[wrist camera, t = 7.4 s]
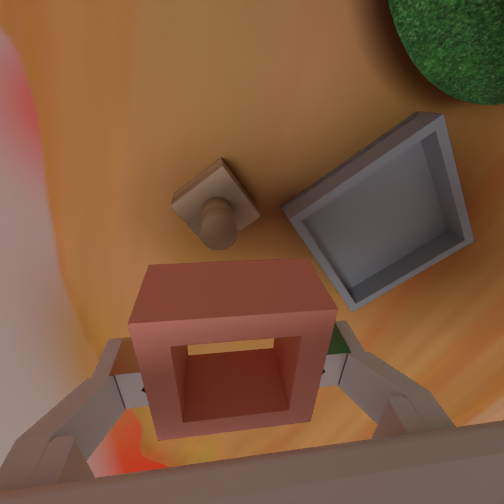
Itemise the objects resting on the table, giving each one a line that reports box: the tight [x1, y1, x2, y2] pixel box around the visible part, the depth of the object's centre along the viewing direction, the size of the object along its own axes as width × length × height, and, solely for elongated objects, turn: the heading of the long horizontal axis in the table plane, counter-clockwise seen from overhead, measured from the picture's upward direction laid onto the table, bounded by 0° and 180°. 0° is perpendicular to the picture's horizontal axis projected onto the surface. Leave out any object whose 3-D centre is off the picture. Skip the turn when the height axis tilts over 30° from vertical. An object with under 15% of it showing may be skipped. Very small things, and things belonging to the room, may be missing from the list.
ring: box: [128, 258, 338, 441], centre depth 10 cm, size 6×6×3 cm
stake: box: [170, 158, 261, 251], centre depth 21 cm, size 5×5×7 cm
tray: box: [281, 112, 474, 312], centre depth 26 cm, size 14×14×3 cm
